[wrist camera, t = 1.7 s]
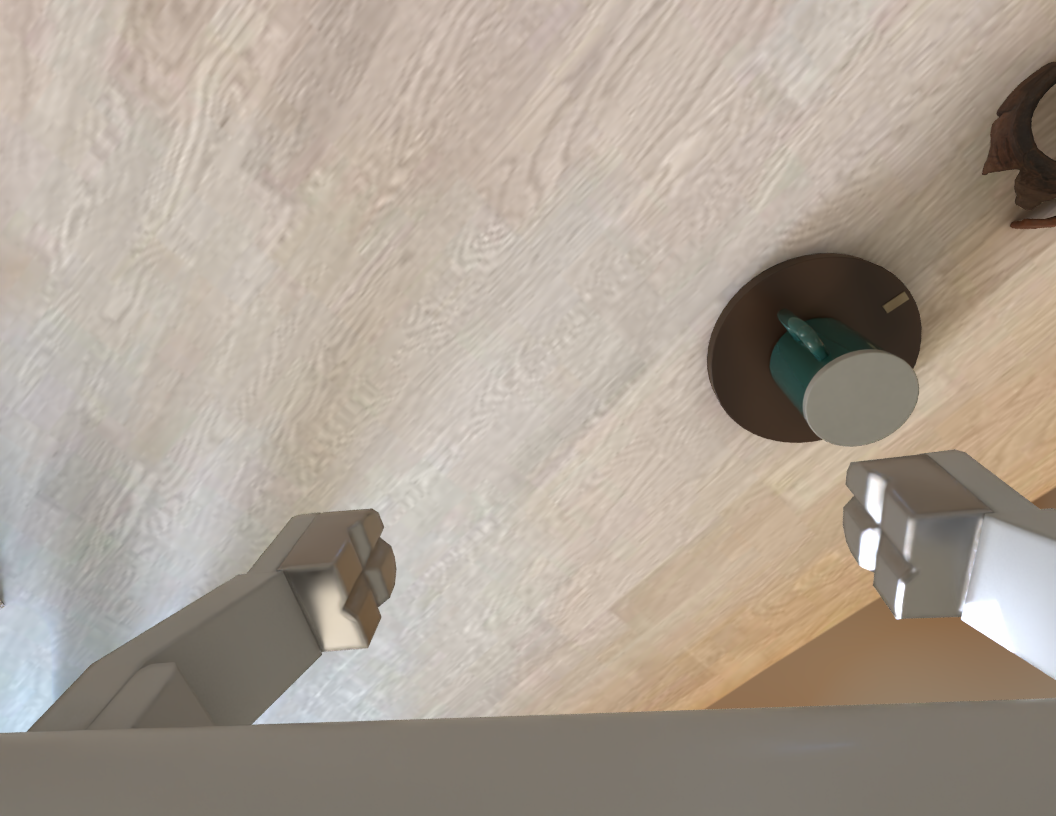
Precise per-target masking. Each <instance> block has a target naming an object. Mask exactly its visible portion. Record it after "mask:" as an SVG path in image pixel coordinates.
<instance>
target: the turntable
mask: <svg viewBox="0 0 1056 816" xmlns="http://www.w3.org/2000/svg"><path fill="white" fill-rule="evenodd" d="M784 308H786V309H789V310H790V311H792V312H793V313H794V314H795V315H797V316H798V317H799V318H800V319H802V320H803V321H807V320H810V319H815V318H832V319H836V320H839V321H842V322H844V323H845V324H847V325H849V326H850V327H852V328H853V329H855V330H856V331H858V332H859V333H861V334H862V335H864V336H865V337H867V338H868V339H870V340H871V341H873V342H874V343H876V344H877V345H879V346H880V347H882V348H883V349H885V350H886V351H888V352H890V353H892V354H895V355H896V356H898V357H900V358H901V359H903V360H904V361H905V362H907V363H908V364H909V365H910V366H911V368H912V369H913V368H914V366H915V364H916V360H917V357H918V354H919V350H920V344H921V320H920V314H919V311H918V308H917V305H916V302H915V300H914V299H913V297H912V295H911V293H910V291H909V290H908V289H907V288H906V286H905V285H904V284H903V283H902V282H901V281H900V280H899V279H898V278H897V277H896V276H895V275H894V274H892V273H891V272H889V271H888V270H886V269H884V268H883V267H881V266H878V265H876V264H874V263H871V262H869V261H867V260H864V259H861V258H858V257H854V256H851V255H846V254H837V253H818V254H811V255H805V256H801V257H797V258H793V259H790V260H787V261H785V262H782V263H780V264H777V265H775V266H773V267H771V268H770V269H768V270H766V271H764V272H762V273H761V274H759V275H758V276H756V277H755V278H754V279H752V280H751V281H750V282H748V283H747V284H746V285H745V286H744V287H743V288H741V289H740V290H739V291H738V293H737V294H736V295H735V296H734V297H733V298H732V299H731V300H730V302H729V303H728V304H727V306H726V307H725V308H724V310H723V311H722V313H721V315H720V317H719V318H718V320H717V322H716V324H715V327H714V329H713V332H712V334H711V338H710V342H709V346H708V354H707V369H708V375H709V380H710V383H711V386H712V389H713V391H714V393H715V395H716V397H717V399H718V400H719V402H720V404H721V406H722V407H723V409H724V410H725V411H726V413H727V414H728V415H729V416H730V417H731V418H732V419H733V420H734V421H735V422H736V423H737V424H739V425H740V426H741V427H743V428H744V429H746V430H748V431H750V432H751V433H753V434H756V435H758V436H761V437H763V438H767V439H771V440H775V441H781V442H790V443H802V442H813V441H818V440H823V439H821V438H820V437H818V436H817V435H816V434H815V433H814V432H813V431H812V429H811V428H810V427H809V425H808V424H807V422H806V420H805V418H804V417H803V416H802V415H801V413H800V412H799V411H798V410H797V409H796V407H795V406H794V405H793V404H792V403H791V401H790V400H789V399H788V398H787V396H786V395H785V394H784V393H783V392H782V390H781V389H780V388H779V387H778V386H777V384H776V383H775V381H774V380H773V378H772V375H771V371H770V359H771V355H772V351H773V349H774V347H775V345H776V344H777V342H778V341H779V339H780V338H781V337H782V336H783V335H784V334H785V333H786V332H787V329H786V328H785V327H784V325H783V324H782V323H781V322H780V320H779V319H778V317H777V314H778V312H779V311H780V310H781V309H784Z"/></svg>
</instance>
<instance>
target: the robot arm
mask: <svg viewBox="0 0 1056 816" xmlns="http://www.w3.org/2000/svg"><path fill="white" fill-rule="evenodd" d="M846 486H847V487H848V488H849V489H850V491H851V492H852V493H853V495H854V496H853V497H852V498H851V500H850V501H849V502H848V503H847V504H846V505H845V506H844V507H843V528H844V533H845V538H846V542H847V544H848V547H849V549H850V551H851V553H852V555H853V556H854V558H855V559H856V561H857V562H858V564H859V565H861V566H863V567H864V568H866V569H868V570H870V571H872V572H874V581H873V586H874V587H875V589H876V590H877V592H878V593H879V595H880V596H881V597H882V599H883V600H884V602H885V603H886V605H887V606H888V607H889V609H890V610H891V612H892V613H893V615H894V616H895V617H896V619H903V618H936V617H962V618H961V620H963V621H964V622H966V623H967V624H969V625H970V626H972V627H974V628H975V629H977V630H978V631H980V632H982V633H983V634H985V635H986V636H988V637H989V638H991V639H993V640H994V641H996V642H997V643H999V644H1000V645H1002V646H1003V647H1005V648H1007V649H1008V650H1010V651H1011V652H1013V653H1014V654H1016V655H1017V656H1019V657H1021V658H1022V659H1024V660H1025V661H1027V662H1028V663H1030V664H1032V665H1033V666H1035V667H1036V668H1038V669H1039V670H1041V671H1043V672H1044V673H1046V674H1047V675H1049V676H1050V677H1052V678H1053V679H1055V680H1056V509H1053V508H1051V509H1039V508H1038V507H1036V506H1035V505H1033V504H1032V503H1031V502H1030V501H1028V500H1027V499H1026V498H1024V497H1023V496H1022V495H1020V494H1019V493H1018V492H1017V491H1015V490H1014V489H1013V488H1011V487H1010V486H1009V485H1007V484H1006V483H1005V482H1003V481H1002V480H1001V479H999V478H998V477H997V476H996V475H994V474H993V473H992V472H990V471H989V470H988V469H986V468H985V467H984V466H982V465H981V464H980V463H978V462H977V461H976V460H974V459H973V458H972V457H971V456H969V455H968V454H967V453H965V452H962V451H959V450H955V449H954V450H947V451H939V452H931V453H924V454H919V455H911V456H903V457H894V458H885V459H877V460H868V461H859V462H851V463H850V465H849V468H848V470H847V475H846ZM383 529H384V525H383V523H382V520H381V518H380V515H379V513H378V512H377V511H375V510H373V509H360V510H347V511H334V512H323V513H320V512H319V513H310V514H301V515H297V516H294V517H292V518H291V519H290V520H289V522H288V523H287V524H286V525H285V527H284V528H283V529H282V530H281V532H280V533H279V534H278V535H277V537H276V538H275V539H274V540H273V542H272V543H271V544H270V545H269V546H268V548H267V549H266V550H265V551H264V553H263V554H262V555H261V556H260V558H259V559H258V560H257V561H256V563H255V564H254V565H253V566H252V568H251V569H250V570H249V571H248V573H247V574H239V575H237V576H235V577H234V578H232V579H230V580H229V581H227V582H225V583H224V584H222V585H221V586H219V587H217V588H216V589H214V590H212V591H211V592H209V593H207V594H206V595H204V596H202V597H201V598H199V599H198V600H196V601H194V602H193V603H191V604H189V605H188V606H186V607H184V608H183V609H181V610H180V611H178V612H176V613H175V614H173V615H171V616H170V617H168V618H166V619H165V620H163V621H161V622H160V623H158V624H157V625H155V626H153V627H152V628H150V629H148V630H147V631H145V632H143V633H142V634H140V635H139V636H137V637H135V638H134V639H132V640H130V641H129V642H127V643H125V644H124V645H122V646H120V647H119V648H117V649H116V650H114V651H112V652H111V653H109V654H107V655H106V656H104V657H102V658H101V659H99V660H98V661H96V662H94V663H93V664H91V665H90V666H89V667H88V668H87V669H86V670H85V671H84V672H83V673H82V674H81V675H80V677H79V678H78V679H77V680H76V681H75V682H74V683H73V684H72V685H71V686H70V687H69V688H68V689H67V690H66V691H65V692H64V693H63V694H62V695H61V696H60V697H59V698H58V699H57V700H56V702H55V703H54V704H53V705H52V706H51V707H50V708H49V709H48V710H47V711H46V712H45V713H44V714H43V715H42V716H41V717H40V718H39V719H38V720H37V721H36V722H35V723H34V724H33V725H32V727H31V728H30V729H29V730H28V731H27V732H14V733H0V816H1056V698H1045V699H1020V700H1019V699H1017V700H988V701H960V702H932V703H903V704H902V703H901V704H868V705H838V706H837V705H836V706H804V707H772V708H742V709H741V708H740V709H708V710H677V711H648V712H618V713H588V714H559V715H529V716H500V717H470V718H440V719H410V720H379V721H349V722H319V723H289V724H259V725H252V724H253V723H254V722H255V721H256V720H257V719H258V718H259V717H260V716H261V715H262V714H263V713H264V712H265V711H266V710H267V709H268V708H269V707H270V706H271V705H272V704H273V703H274V702H275V701H276V700H277V699H278V698H279V697H280V696H281V695H282V694H283V693H284V692H285V691H286V690H287V689H288V688H289V687H290V686H291V685H292V684H293V683H294V682H295V681H296V680H297V679H298V678H299V677H300V676H301V675H302V674H303V673H304V672H305V671H306V670H307V669H308V668H309V667H310V666H311V665H312V664H313V663H314V662H315V661H316V660H317V659H318V658H319V657H320V656H321V655H322V653H321V652H327V651H338V650H350V649H362V648H368V647H369V645H370V642H371V640H372V638H373V635H374V633H375V631H376V628H377V626H378V624H379V622H380V619H381V615H380V612H379V609H378V607H379V606H380V605H381V604H383V603H384V602H385V601H386V600H387V599H389V598H390V596H391V593H392V591H393V588H394V586H395V578H396V562H395V556H394V553H393V550H392V547H391V546H390V545H389V544H388V543H386V542H385V541H384V540H383V539H381V538H380V536H381V533H382V531H383Z"/></svg>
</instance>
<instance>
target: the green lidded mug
mask: <svg viewBox="0 0 1056 816" xmlns="http://www.w3.org/2000/svg"><path fill="white" fill-rule="evenodd" d="M777 317H778V319H779V320H780V322H781V323H782V324H783V325H784V327H785V328H786V329H787V332H786V333H785V334H784V335H783V336H782V337H781V338H780V339H779V341H778V342H777V344H776V345H775V347H774V349H773V351H772V355H771V359H770V371H771V375H772V378H773V380H774V381H775V383H776V384H777V386H778V387H779V388H780V389H781V390H782V392H783V393H784V394H785V395H786V396H787V398H788V399H789V400H790V401H791V403H792V404H793V405H794V406H795V407H796V409H797V410H798V411H799V412H800V413H801V415H802V416H803V417H804V418H805V420H806V422H807V424H808V425H809V427H810V428H811V429H812V431H813V432H814V433H815V434H816V435H817V436H818V437H820V438H821V439H823V440H825V441H826V442H829V443H831V444H835V445H839V446H850V447H853V446H862V445H867V444H870V443H874V442H876V441H879V440H881V439H883V438H885V437H887V436H889V435H890V434H892V433H893V432H895V431H896V430H897V429H898V428H900V427H901V426H902V425H903V424H904V423H905V421H906V420H907V419H908V418H909V416H910V415H911V413H912V412H913V410H914V408H915V406H916V403H917V400H918V395H919V384H918V379H917V376H916V374H915V372H914V370H913V369H912V368H911V366H910V365H909V364H908V363H907V362H905V361H904V360H903V359H901V358H900V357H898V356H896V355H895V354H892V353H890V352H888V351H886V350H885V349H883V348H882V347H880V346H879V345H877V344H876V343H874V342H873V341H871V340H870V339H868V338H867V337H865V336H864V335H862V334H861V333H859V332H858V331H856V330H855V329H853V328H852V327H850V326H849V325H847V324H845V323H844V322H842V321H839V320H836V319H832V318H815V319H810V320H807V321H803V320H802V319H800V318H799V317H798V316H797V315H795V314H794V313H793V312H792V311H790V310H789V309H786V308H784V309H781V310H780V311H779V312H778V314H777Z"/></svg>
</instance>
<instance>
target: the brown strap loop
mask: <svg viewBox="0 0 1056 816" xmlns="http://www.w3.org/2000/svg"><path fill="white" fill-rule="evenodd" d="M1055 84H1056V62H1051V63H1049V64H1047V65H1045V66H1043V67H1041V68H1040V69H1039V70H1037V71H1036V72H1034V73H1033V74H1031V75H1030V76H1029V77H1028V78H1027V79H1025V80H1024V81H1023V82H1022V83H1021V84H1019V85H1018V86H1017V87H1016V88H1015V89H1014V91H1012V93H1011V94H1010V95H1009V96H1008V97H1007V99H1006V100H1005V101H1004V102H1003V104H1002V105H1001V106H1000V107H999V109H998V111H997V115H998V116H999V118H998V119H997V120H995V121H994V123H993V124H992V127H991V134H990V136H991V141H990V143H991V144H990V150H989V154H988V158H987V161H986V162H985V164H984V168H983V172H982V175H987V174H988V173H992V172H1000V171H1005V170H1014V169H1019V170H1020V172H1019V174H1018V176H1017V177H1016V179H1015V185H1014V189H1015V192H1016V195H1017V196H1016V200H1015V203H1016V205H1018V206H1019V207H1021V208H1023V209H1025V210H1032V209H1034V208H1035V207H1037V206H1038V205H1040V204H1041V203H1042V202H1045V201H1049V200H1052V199H1054V198H1056V161H1054V160H1052V159H1051V158H1049V157H1048V156H1046V155H1045V154H1044V153H1043V152H1041V151H1040V150H1039V149H1038V148H1037V145H1036V143H1035V141H1034V138H1033V134H1032V129H1031V122H1032V117H1033V113H1034V110H1035V108H1036V107H1037V105H1038V103H1039V101H1040V100H1041V99H1042V97H1043V96H1044V95H1045V94H1046V92H1047V91H1048V90H1049V89H1050V88H1051V87H1052V86H1053V85H1055ZM1055 226H1056V216H1054V217H1050V218H1046V219H1028V218H1027V219H1023V220H1021V221H1014V222H1012V223H1011V227H1012V228H1015V229H1036V228H1047V227H1055Z"/></svg>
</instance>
